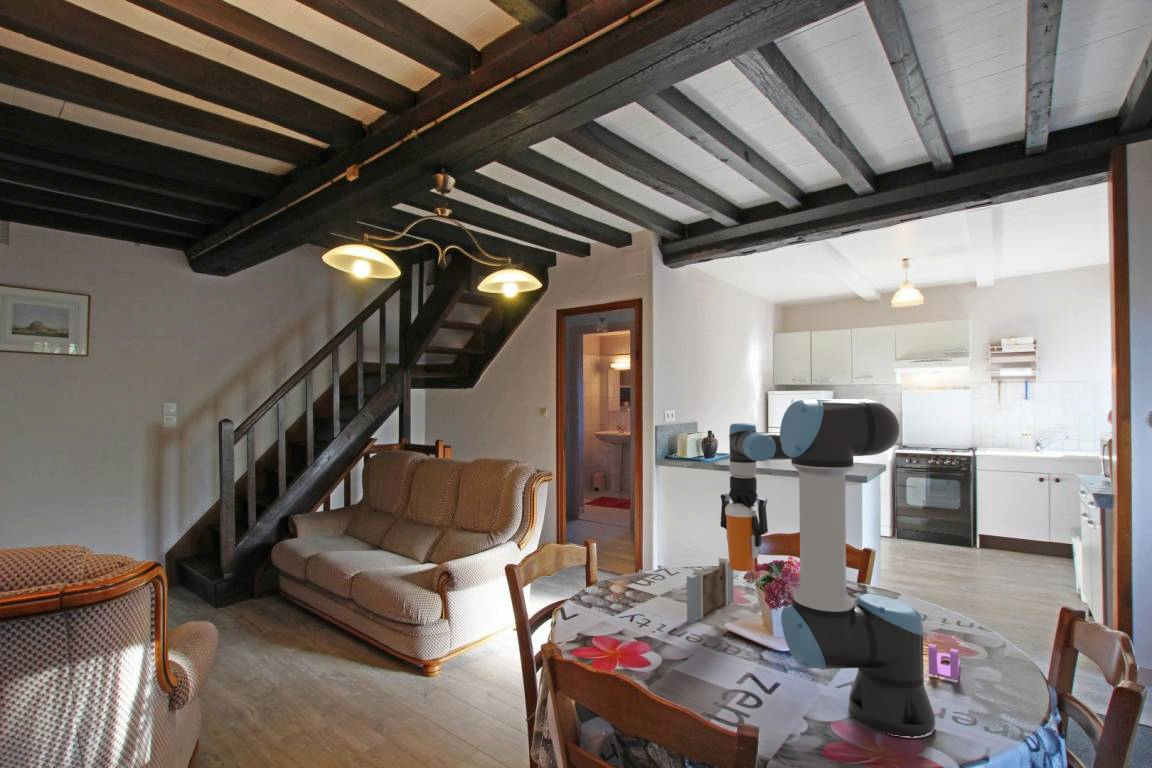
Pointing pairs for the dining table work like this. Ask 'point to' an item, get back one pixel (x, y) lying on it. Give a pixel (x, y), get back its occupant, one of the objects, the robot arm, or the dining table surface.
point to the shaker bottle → (740, 535)
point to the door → (713, 589)
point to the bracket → (939, 668)
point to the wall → (697, 590)
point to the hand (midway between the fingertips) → (743, 554)
